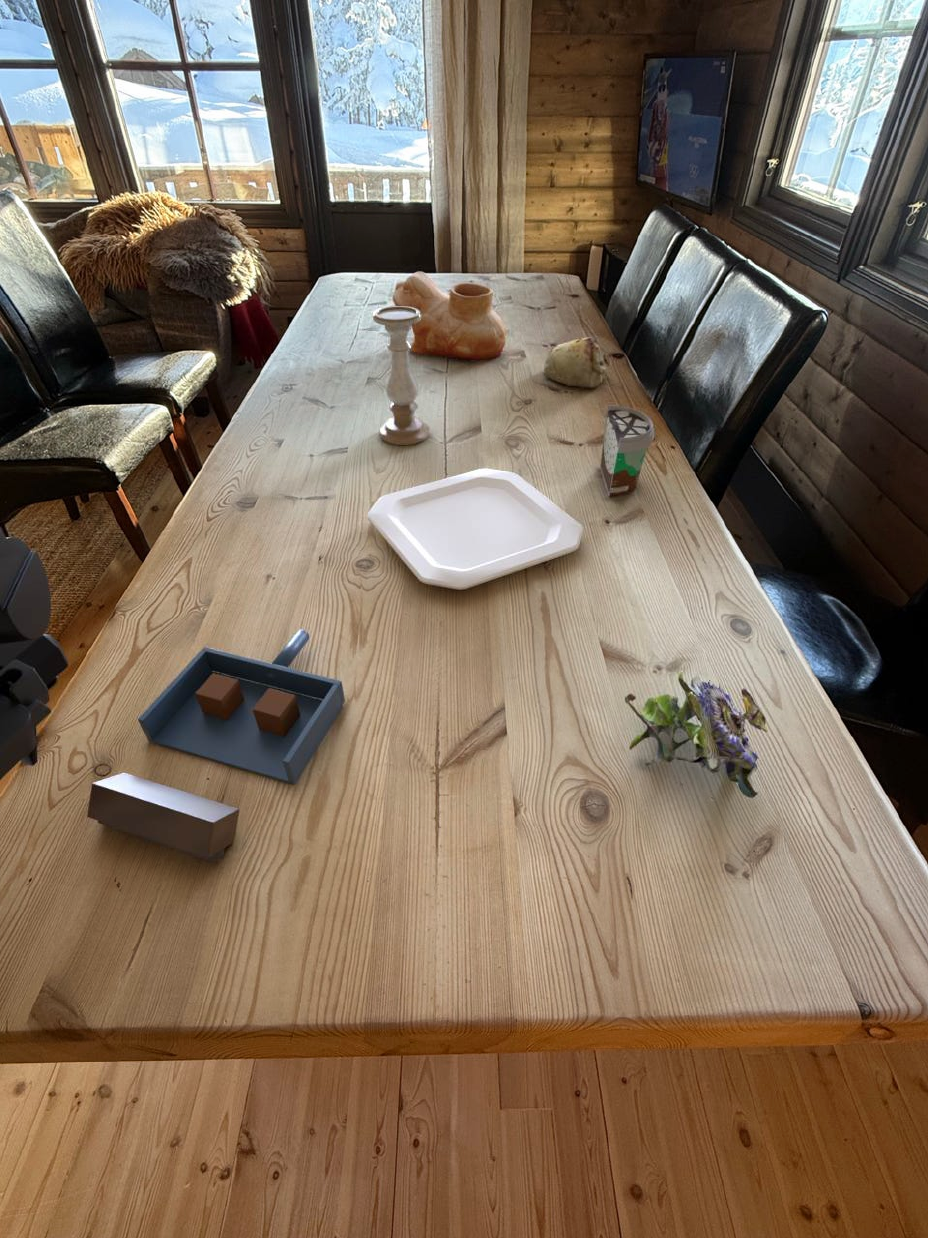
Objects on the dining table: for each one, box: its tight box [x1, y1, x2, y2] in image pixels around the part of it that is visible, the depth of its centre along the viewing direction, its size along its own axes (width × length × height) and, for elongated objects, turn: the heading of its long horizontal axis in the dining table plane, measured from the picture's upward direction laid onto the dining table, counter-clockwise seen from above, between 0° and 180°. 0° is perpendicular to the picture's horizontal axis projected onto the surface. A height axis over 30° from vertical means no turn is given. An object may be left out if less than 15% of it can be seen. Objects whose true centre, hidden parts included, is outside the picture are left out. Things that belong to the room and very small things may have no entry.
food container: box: [599, 404, 655, 498], centre depth 100 cm, size 12×6×10 cm, turn 179°
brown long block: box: [86, 772, 240, 864], centre depth 56 cm, size 12×4×4 cm
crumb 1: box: [195, 673, 244, 720], centre depth 66 cm, size 3×3×3 cm
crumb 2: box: [253, 688, 300, 737], centre depth 65 cm, size 3×3×3 cm
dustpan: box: [137, 629, 346, 786], centre depth 68 cm, size 17×16×3 cm
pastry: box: [543, 336, 607, 389], centre depth 134 cm, size 14×12×8 cm
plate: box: [366, 468, 584, 590], centre depth 91 cm, size 25×25×2 cm
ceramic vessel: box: [391, 271, 507, 363], centre depth 144 cm, size 14×26×15 cm, turn 67°
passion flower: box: [624, 670, 768, 799], centre depth 60 cm, size 11×11×12 cm
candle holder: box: [372, 305, 431, 446], centre depth 109 cm, size 9×9×20 cm
